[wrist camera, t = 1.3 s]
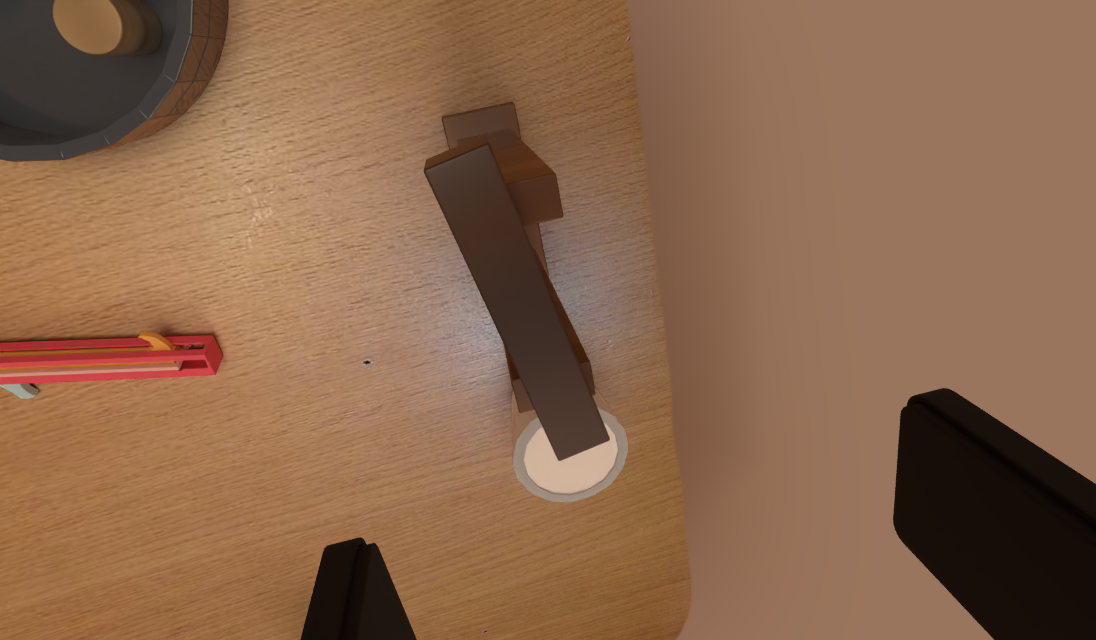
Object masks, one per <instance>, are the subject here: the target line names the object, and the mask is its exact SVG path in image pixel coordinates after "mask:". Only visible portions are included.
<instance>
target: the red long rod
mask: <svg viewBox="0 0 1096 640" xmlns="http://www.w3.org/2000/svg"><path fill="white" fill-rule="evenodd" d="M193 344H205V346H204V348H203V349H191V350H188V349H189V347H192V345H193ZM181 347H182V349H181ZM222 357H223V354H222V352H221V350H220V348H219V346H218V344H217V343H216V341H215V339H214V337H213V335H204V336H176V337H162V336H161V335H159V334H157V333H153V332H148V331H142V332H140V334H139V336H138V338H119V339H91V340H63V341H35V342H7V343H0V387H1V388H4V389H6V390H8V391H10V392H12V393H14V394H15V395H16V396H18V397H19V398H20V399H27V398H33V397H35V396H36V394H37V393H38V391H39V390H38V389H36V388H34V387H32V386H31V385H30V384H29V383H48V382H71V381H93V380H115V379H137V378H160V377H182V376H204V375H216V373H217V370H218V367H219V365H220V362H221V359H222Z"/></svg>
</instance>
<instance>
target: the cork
mask: <svg viewBox="0 0 1096 640" xmlns="http://www.w3.org/2000/svg"><path fill="white" fill-rule="evenodd" d="M53 18H54V22H55V25H56V27H57V29H58V31H59V32H60V34H61V35H62V36H63V38H64V39H65V40H66V41H67V42H68V43H69V44H71V45H72V46H73V47H75V48H76V49H78V50H80V51H82V52H85V53H88V54H93V55H121V56H144V55H148V54H150V53H152V52H153V51H155V50H156V49H157V47H158V46H159V44H160V42H161V38H162V29H161V25H160V22H159V19H158V17H157V16H156V14H155V13H154V11H153V10H152V9H151V8H150V7H149V6H148V5H147V4H145V3H144V2H143V1H141V0H55V1H54V4H53Z"/></svg>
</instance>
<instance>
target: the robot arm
mask: <svg viewBox="0 0 1096 640" xmlns="http://www.w3.org/2000/svg"><path fill="white" fill-rule="evenodd" d="M893 523H894V527H895V530H896V532H897V535H898V536H899V538H900V539H901V541H902V542H903V543H904V544H905V545H906V546H907V547H908V548H909V550H910V551H911V552H912V553H913V554H914V555H915V556H916V557H917V558H918V559H919V560H920V561H921V562H922V563H923V564H924V566H925V567H926V568H927V569H928V570H929V571H930V572H931V573H932V574H933V575H934V576H935V577H936V578H937V579H938V580H939V581H940V583H941V584H942V585H943V586H944V587H945V588H946V589H947V590H948V591H949V592H950V593H951V594H952V595H953V596H954V597H955V598H956V599H957V601H958V602H959V603H960V604H961V605H962V606H963V607H964V608H965V609H966V610H967V611H968V612H969V613H970V614H971V615H972V616H973V618H974V619H975V620H976V621H977V622H978V623H979V624H980V625H981V626H982V627H983V628H984V629H985V630H986V631H987V632H988V633H989V635H990V636H991V637H992V638H993V639H994V640H1096V484H1095V483H1093V482H1092V481H1090V480H1089V479H1087V478H1086V477H1084V476H1083V475H1081V474H1080V473H1078V472H1076V471H1075V470H1073V469H1072V468H1070V467H1068V466H1067V465H1066V464H1064V463H1063V462H1061V461H1060V460H1058V459H1056V458H1055V457H1054V456H1052V455H1050V454H1049V453H1047V452H1046V451H1044V450H1043V449H1041V448H1040V447H1038V446H1036V445H1035V444H1034V443H1032V442H1030V441H1029V440H1028V439H1026V438H1025V437H1023V436H1021V435H1020V434H1018V433H1017V432H1015V431H1013V430H1012V429H1011V428H1009V427H1008V426H1006V425H1005V424H1003V423H1002V422H1000V421H998V420H997V419H995V418H994V417H992V416H991V415H989V414H988V413H986V412H985V411H983V410H981V409H980V408H979V407H977V406H976V405H974V404H973V403H971V402H970V401H968V400H966V399H965V398H963V397H962V396H960V395H959V394H957V393H956V392H954V391H952V390H950V389H946V388H942V389H938V390H934V391H930V392H926V393H922V394H918V395H915V396H912V397H911V398H910V399H909V400H908V403H907V406H906V407H904V408H903V409H902V411H901V416H900V430H899V444H898V460H897V473H896V487H895V502H894V515H893ZM301 640H417V639H416V637H415V635H414V632H413V630H412V627H411V625H410V622H409V620H408V618H407V615H406V613H405V610H404V608H403V606H402V603H401V601H400V598H399V596H398V594H397V591H396V589H395V586H394V584H393V582H392V579H391V577H390V574H389V572H388V570H387V567H386V565H385V562H384V560H383V558H382V555H381V553H380V550H379V548H378V546H377V545H376V544H375V543H372V544H368V545H367V544H366V542H365V541H364V539H363V538H355V539H352V540H348V541H344V542H340V543H336V544H332V545H328V546H327V547H326V548H325V549H324V551H323V554H322V558H321V562H320V566H319V570H318V574H317V578H316V582H315V585H314V589H313V593H312V597H311V601H310V605H309V609H308V613H307V617H306V620H305V624H304V628H303V632H302V636H301Z"/></svg>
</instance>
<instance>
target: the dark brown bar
mask: <svg viewBox="0 0 1096 640" xmlns="http://www.w3.org/2000/svg"><path fill="white" fill-rule="evenodd" d="M424 173H425V175H426V178H427V180H428V182H429V184H430V186H431V188H432V190H433V193H434V195H435V197H436V199H437V201H438V203H439V205H440V208H441V210H442V212H443V214H444V216H445V218H446V221H447V223H448V225H449V227H450V229H451V231H452V233H453V236H454V238H455V240H456V242H457V244H458V246H459V248H460V251H461V253H462V255H463V257H464V259H465V261H466V264H467V266H468V268H469V270H470V272H471V274H472V276H473V279H474V281H475V283H476V285H477V287H478V289H479V291H480V294H481V296H482V298H483V300H484V302H485V304H486V307H487V309H488V311H489V313H490V315H491V317H492V319H493V322H494V324H495V326H496V328H497V330H498V332H499V334H500V337H501V339H502V341H503V343H504V345H505V347H506V350H507V352H508V354H509V356H510V358H511V360H512V362H513V365H514V367H515V369H516V371H517V373H518V375H519V377H520V380H521V382H522V384H523V386H524V388H525V390H526V393H527V395H528V397H529V399H530V401H531V403H532V405H533V408H534V410H535V412H536V414H537V416H538V418H539V420H540V423H541V425H542V427H543V429H544V431H545V433H546V436H547V438H548V440H549V442H550V444H551V446H552V448H553V451H554V453H555V455H556V457H557V459H558V460H559V461H562V460H564V459H567V458H569V457H571V456H574V455H576V454H579V453H581V452H583V451H586V450H588V449H591V448H593V447H595V446H598V445H600V444H603V443H605V442H607V441H609V440H610V437H609V435H608V432H607V430H606V428H605V425H604V423H603V420H602V418H601V415H600V413H599V410H598V408H597V406H596V403H595V401H594V398H593V396H592V393H591V391H590V388H589V386H588V383H587V381H586V379H585V376H584V374H583V371H582V369H581V366H580V364H579V361H578V359H577V357H576V354H575V352H574V349H573V347H572V344H571V342H570V339H569V337H568V334H567V332H566V330H565V327H564V325H563V322H562V320H561V317H560V315H559V312H558V310H557V308H556V305H555V303H554V300H553V298H552V295H551V293H550V290H549V288H548V285H547V283H546V281H545V278H544V276H543V273H542V271H541V268H540V266H539V263H538V261H537V258H536V256H535V254H534V251H533V249H532V246H531V244H530V241H529V239H528V236H527V234H526V232H525V229H524V227H523V224H522V222H521V219H520V217H519V214H518V212H517V209H516V207H515V205H514V202H513V200H512V197H511V195H510V192H509V190H508V187H507V185H506V183H505V180H504V178H503V175H502V173H501V170H500V168H499V165H498V163H497V160H496V158H495V156H494V153H493V151H492V148H491V146H490V144H489V142H488V140H487V138H486V137H485V136H481V137H479V138H476V139H474V140H472V141H469V142H467V143H465V144H462V145H460V146H457V147H455V148H453V149H450V150H448V151H445V152H443V153H441V154H438V155H436V156H433V157H431V158H429V159H427V160H426V162H425V167H424Z"/></svg>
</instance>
